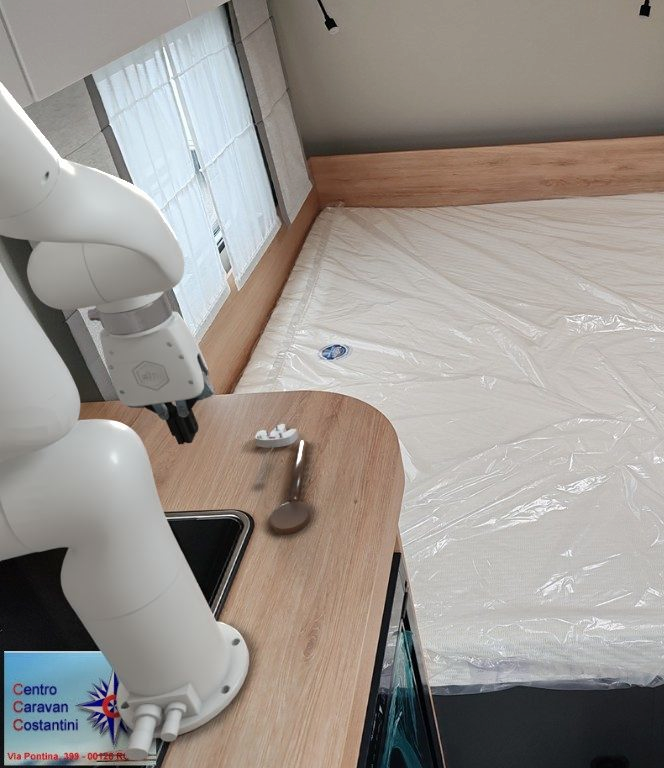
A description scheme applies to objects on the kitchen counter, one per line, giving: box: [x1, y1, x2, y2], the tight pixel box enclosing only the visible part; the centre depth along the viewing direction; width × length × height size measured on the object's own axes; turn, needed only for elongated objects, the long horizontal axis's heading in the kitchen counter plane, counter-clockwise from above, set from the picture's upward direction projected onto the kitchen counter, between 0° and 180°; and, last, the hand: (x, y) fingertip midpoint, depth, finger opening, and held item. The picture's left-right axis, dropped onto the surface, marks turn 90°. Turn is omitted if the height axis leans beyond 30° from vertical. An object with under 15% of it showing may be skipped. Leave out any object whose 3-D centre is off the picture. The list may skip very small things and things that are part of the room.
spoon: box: [270, 439, 312, 535], centre depth 98 cm, size 17×5×1 cm, turn 7°
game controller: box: [254, 423, 299, 488], centre depth 104 cm, size 6×12×3 cm, turn 16°
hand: (188, 437), depth 98 cm, fingers closed
